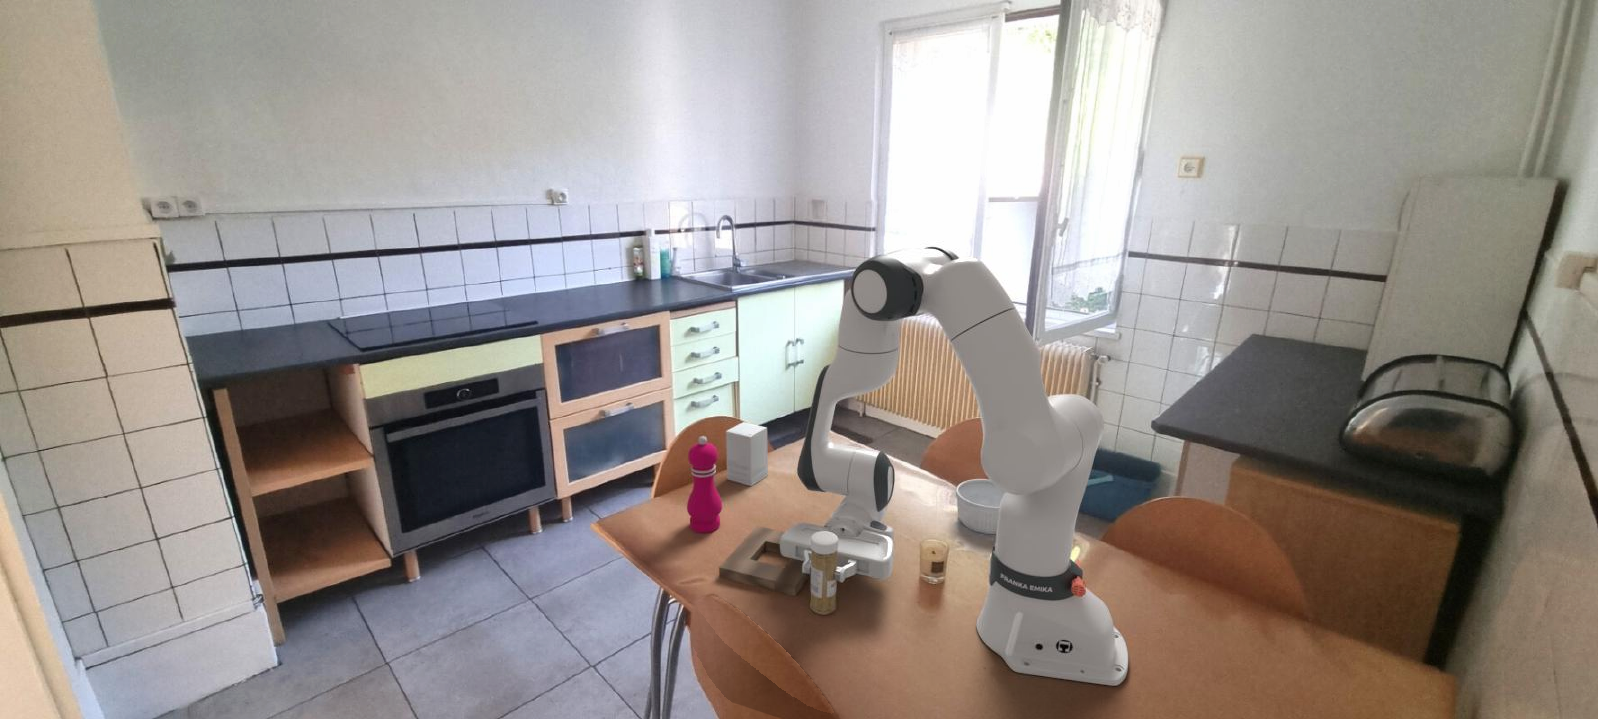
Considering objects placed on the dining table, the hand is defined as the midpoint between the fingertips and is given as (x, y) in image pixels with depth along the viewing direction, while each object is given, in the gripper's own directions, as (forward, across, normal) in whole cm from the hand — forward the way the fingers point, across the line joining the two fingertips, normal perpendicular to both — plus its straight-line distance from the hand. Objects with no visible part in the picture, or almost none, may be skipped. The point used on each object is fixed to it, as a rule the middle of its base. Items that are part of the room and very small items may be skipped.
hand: (822, 573), depth 111 cm
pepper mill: (-17, -32, +7) cm, 37 cm away
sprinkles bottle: (-1, 0, +7) cm, 7 cm away
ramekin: (-42, +22, +7) cm, 48 cm away
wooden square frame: (-10, -13, +7) cm, 18 cm away
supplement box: (-41, -34, +7) cm, 54 cm away
